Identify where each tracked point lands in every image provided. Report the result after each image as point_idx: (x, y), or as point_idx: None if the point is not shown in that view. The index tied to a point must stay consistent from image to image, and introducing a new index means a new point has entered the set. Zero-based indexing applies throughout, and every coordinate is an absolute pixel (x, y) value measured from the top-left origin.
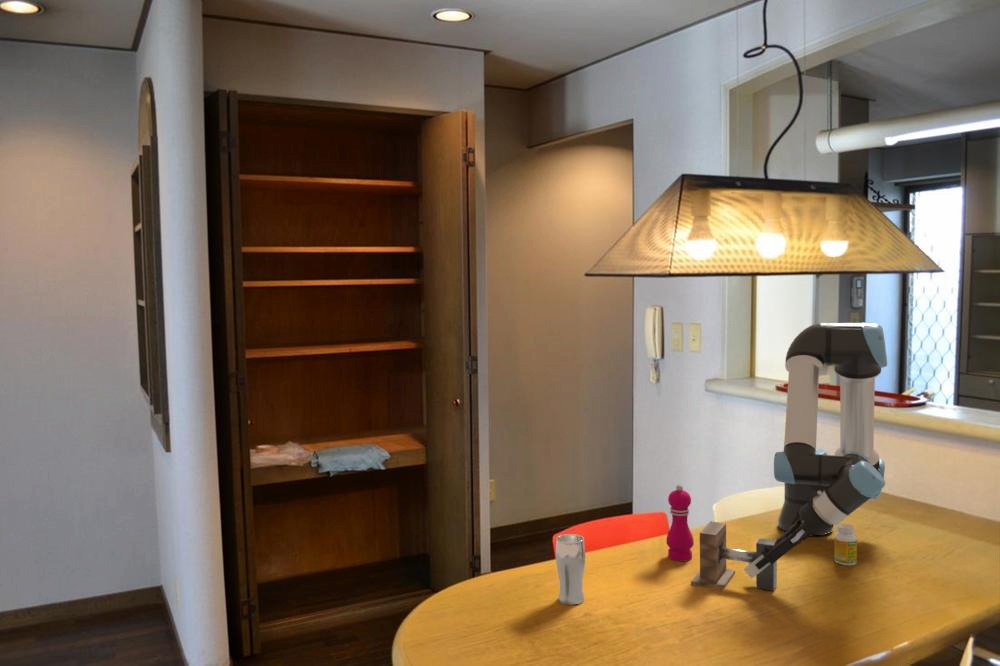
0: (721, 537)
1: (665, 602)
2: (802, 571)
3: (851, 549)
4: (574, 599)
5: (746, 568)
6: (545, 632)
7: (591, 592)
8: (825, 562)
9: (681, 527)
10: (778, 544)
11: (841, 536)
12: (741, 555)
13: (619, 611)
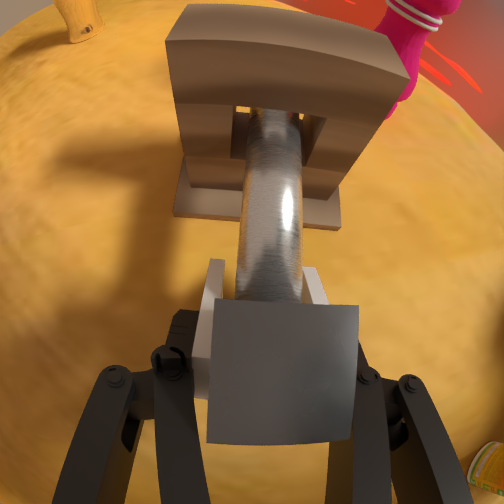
0: (294, 88)
1: (74, 119)
2: None
3: (491, 490)
4: (68, 35)
5: (208, 269)
6: (7, 64)
7: (115, 33)
8: (478, 433)
9: None
10: (78, 490)
11: None
12: (242, 224)
13: (43, 83)
